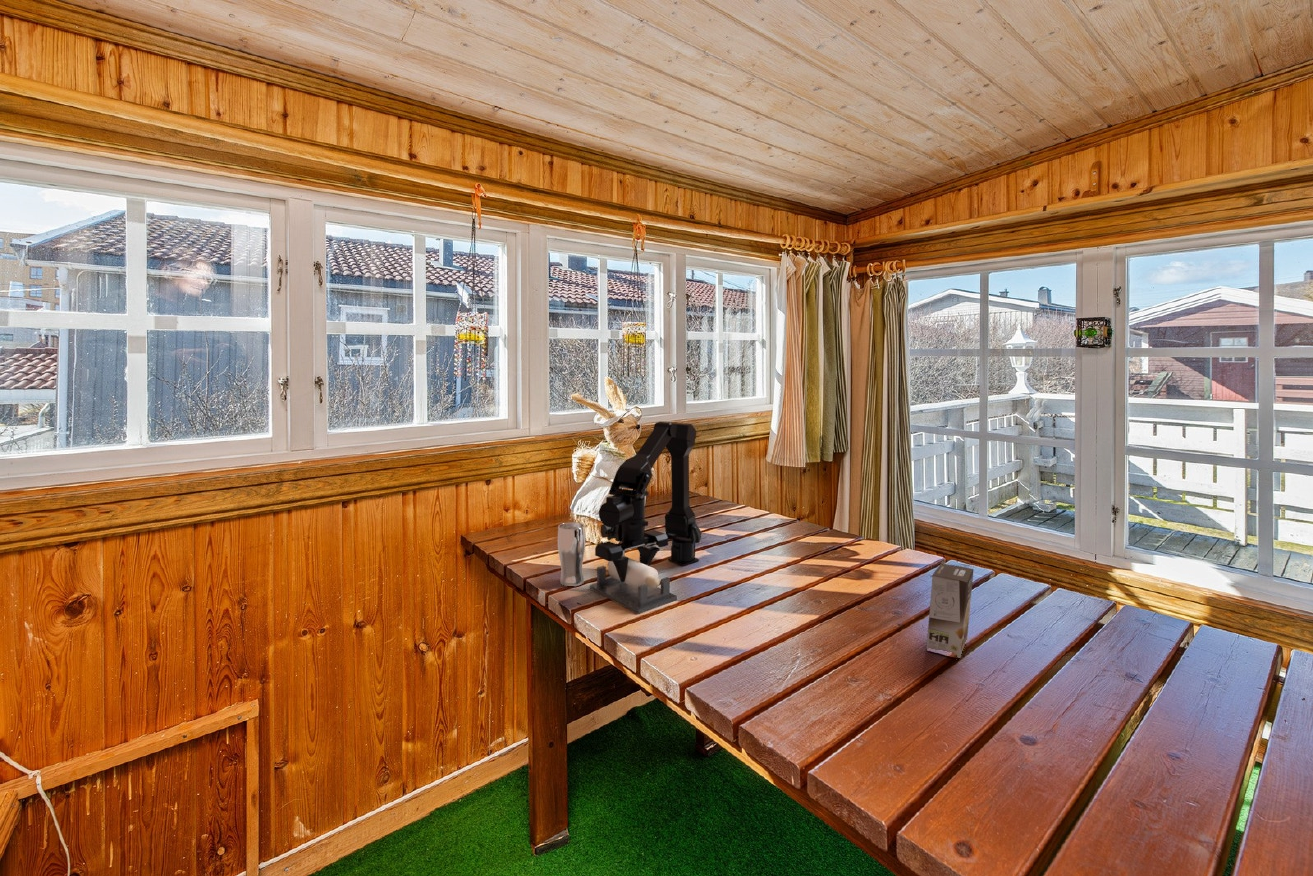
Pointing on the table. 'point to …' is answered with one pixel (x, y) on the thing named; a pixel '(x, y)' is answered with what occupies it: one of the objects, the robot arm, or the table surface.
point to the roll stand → (632, 593)
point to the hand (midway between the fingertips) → (632, 578)
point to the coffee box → (950, 608)
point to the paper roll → (637, 574)
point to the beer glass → (571, 552)
